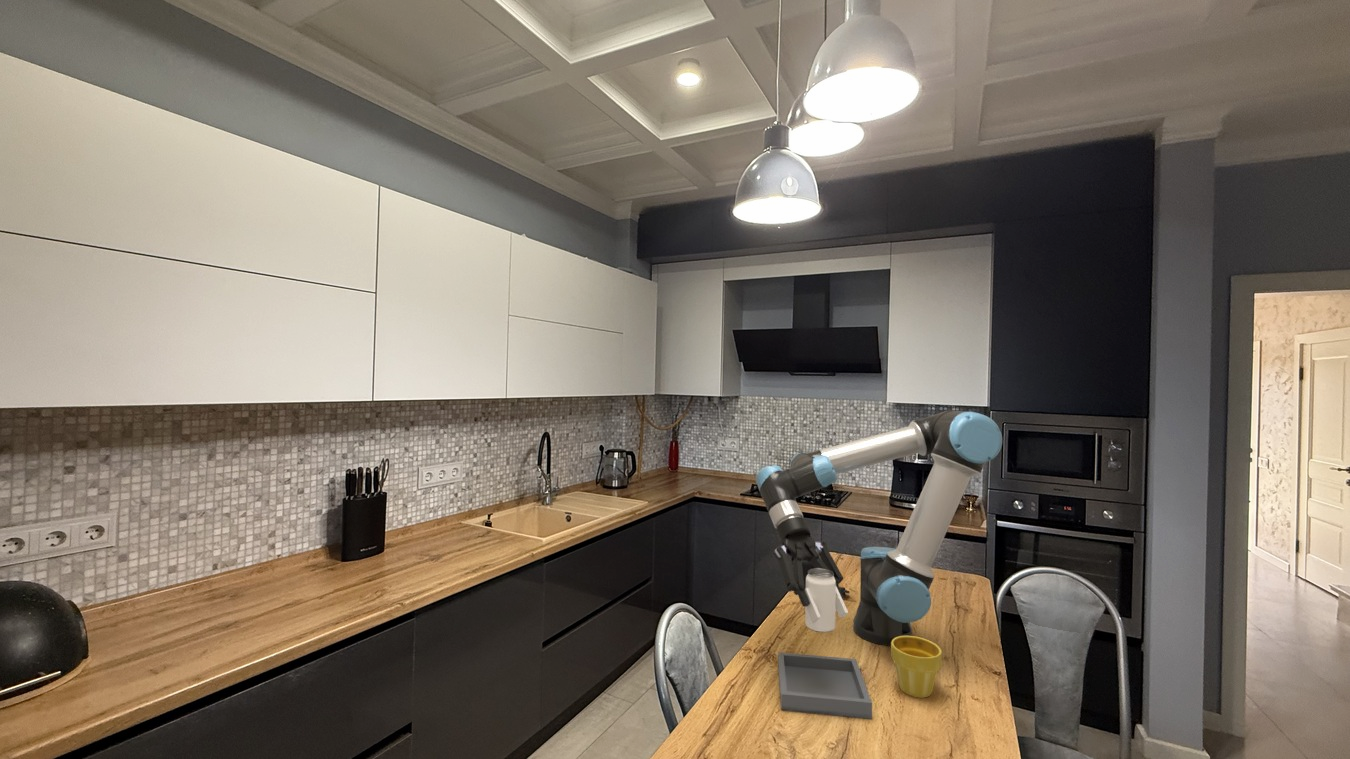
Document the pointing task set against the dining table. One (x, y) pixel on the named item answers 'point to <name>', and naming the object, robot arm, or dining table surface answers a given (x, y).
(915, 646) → the plant pot
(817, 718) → the dining table surface
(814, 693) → the tray
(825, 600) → the can
